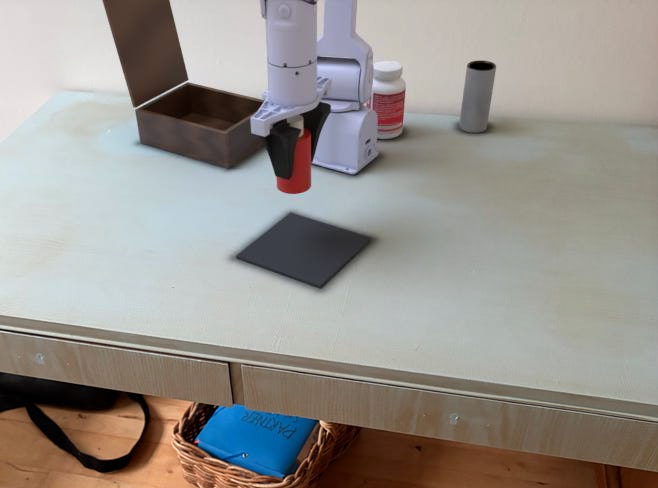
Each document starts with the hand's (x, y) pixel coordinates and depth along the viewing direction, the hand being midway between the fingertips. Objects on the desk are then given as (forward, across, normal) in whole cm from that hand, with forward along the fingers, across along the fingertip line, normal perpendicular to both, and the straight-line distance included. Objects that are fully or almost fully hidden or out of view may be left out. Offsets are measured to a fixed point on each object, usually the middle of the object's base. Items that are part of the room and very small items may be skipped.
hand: (294, 168), depth 94 cm
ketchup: (+2, 0, 0) cm, 2 cm away
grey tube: (+11, -45, +6) cm, 46 cm away
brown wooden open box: (+10, -19, -30) cm, 37 cm away
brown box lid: (-5, -19, -41) cm, 45 cm away
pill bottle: (+11, -36, -6) cm, 38 cm away
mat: (+10, +1, +2) cm, 11 cm away
